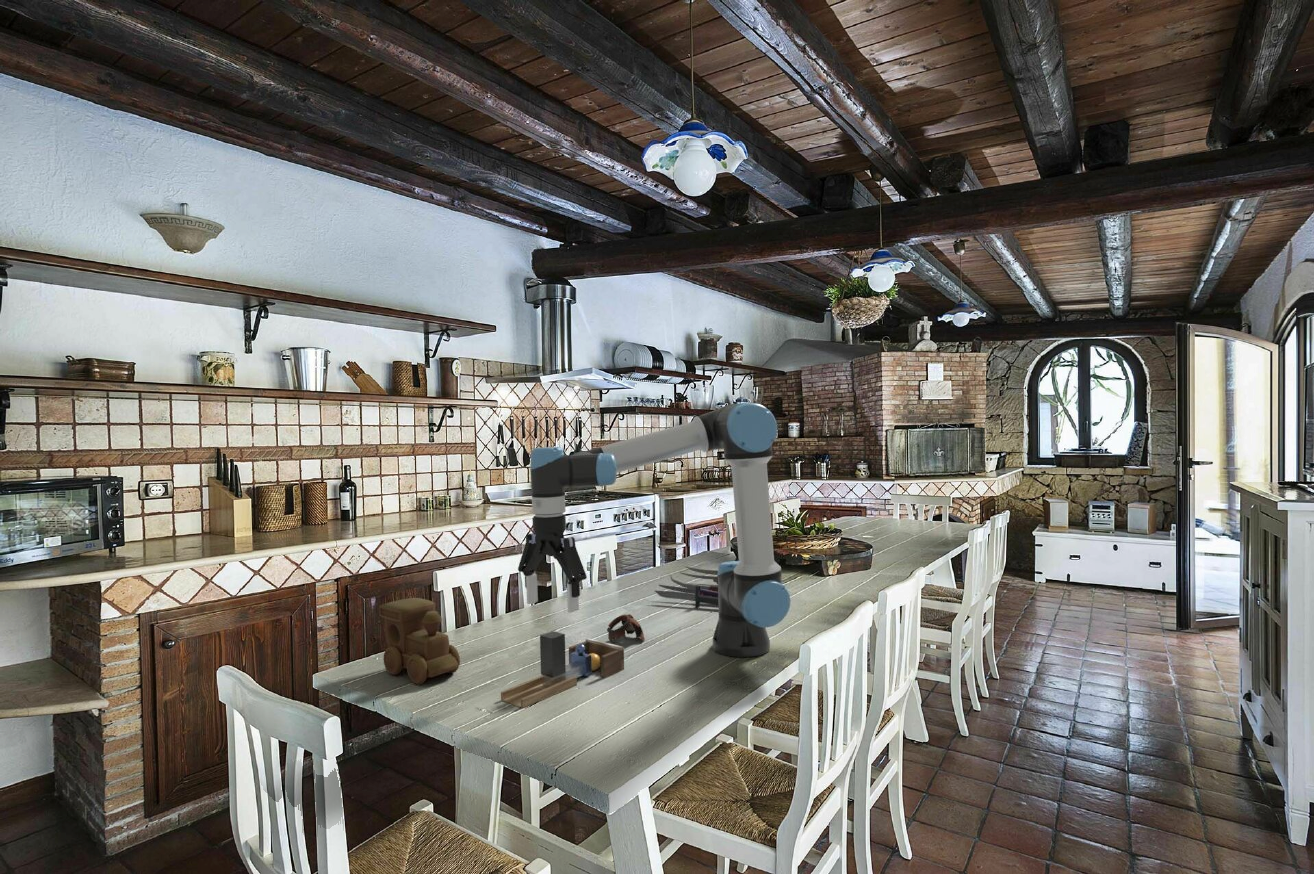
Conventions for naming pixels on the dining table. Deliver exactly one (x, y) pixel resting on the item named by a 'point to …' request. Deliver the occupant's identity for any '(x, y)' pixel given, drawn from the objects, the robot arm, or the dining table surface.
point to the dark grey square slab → (561, 660)
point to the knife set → (694, 589)
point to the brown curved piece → (625, 628)
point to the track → (534, 691)
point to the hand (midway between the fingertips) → (552, 607)
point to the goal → (604, 655)
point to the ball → (595, 661)
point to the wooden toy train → (416, 640)
